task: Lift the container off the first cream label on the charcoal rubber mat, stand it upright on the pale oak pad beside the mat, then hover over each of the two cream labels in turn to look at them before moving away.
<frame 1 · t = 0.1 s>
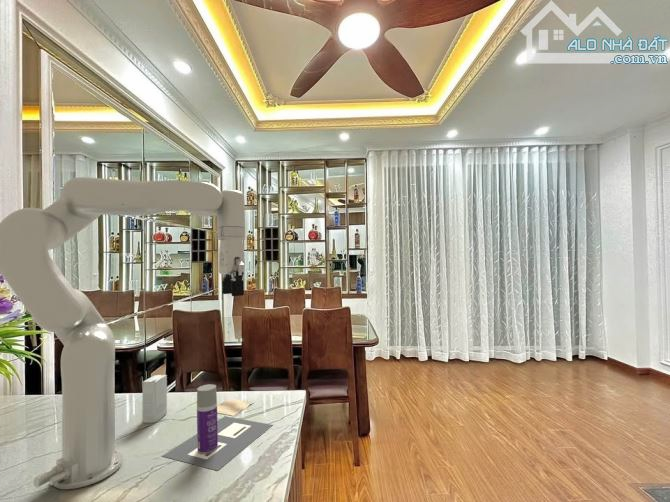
hand: (232, 294, 94), 37 cm above the countertop, tool pointing down, fingers open, 9 cm apart
oak pad: (231, 407, 106), on the countertop
container: (207, 449, 82), resting on label mat
label mat: (221, 439, 86), on the countertop
skincare box: (155, 419, 100), on the countertop
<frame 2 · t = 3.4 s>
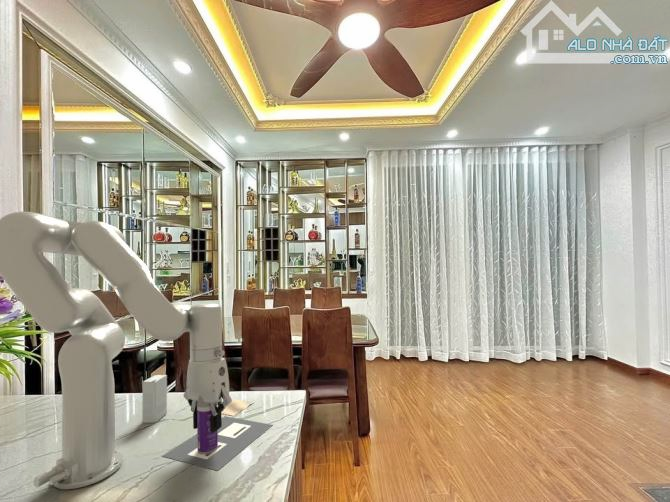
hand: (207, 427, 82), 5 cm above the countertop, tool pointing down, fingers closed on container, 4 cm apart
container: (207, 449, 82), resting on label mat, touching gripper
everything else where it was.
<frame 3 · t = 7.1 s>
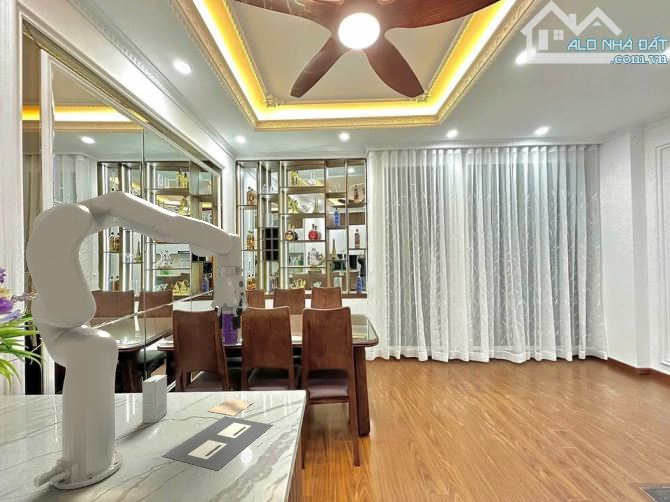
hand: (229, 327, 107), 25 cm above the countertop, tool pointing down, fingers closed on container, 4 cm apart
container: (230, 344, 107), point 20 cm above the countertop, touching gripper
everything else where it was.
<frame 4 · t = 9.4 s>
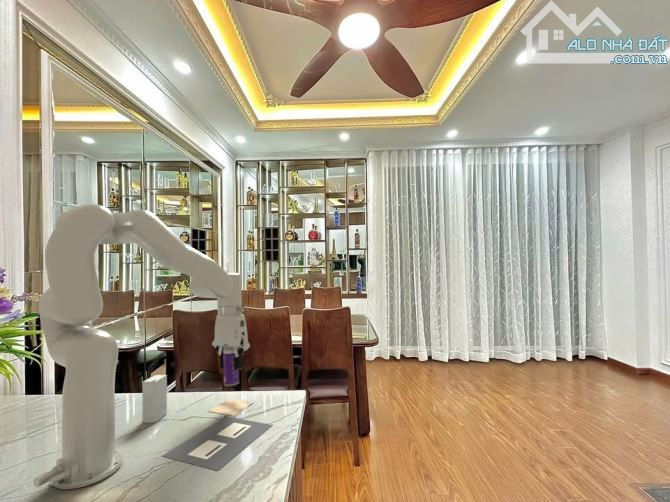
hand: (231, 367, 107), 13 cm above the countertop, tool pointing down, fingers closed on container, 4 cm apart
container: (231, 384, 107), point 7 cm above the countertop, touching gripper
everything else where it was.
when the fingers open (6 cm above the countertop, at t = 11.1 s): container drops 1 cm, resting on oak pad.
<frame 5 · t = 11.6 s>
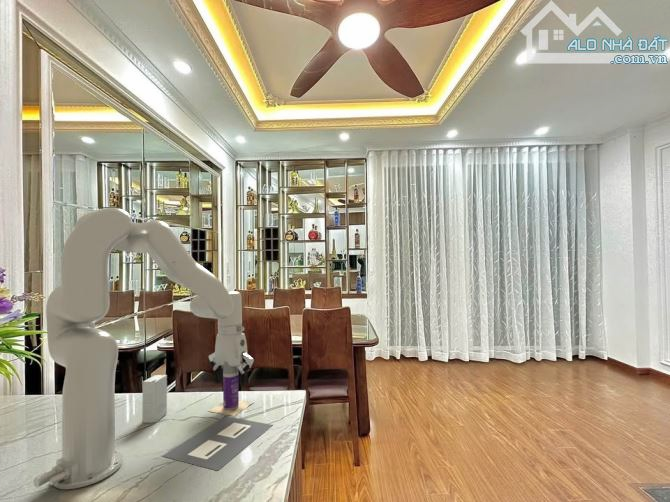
hand: (231, 383, 107), 7 cm above the countertop, tool pointing down, fingers open, 9 cm apart
container: (231, 407, 106), resting on oak pad
everything else where it was.
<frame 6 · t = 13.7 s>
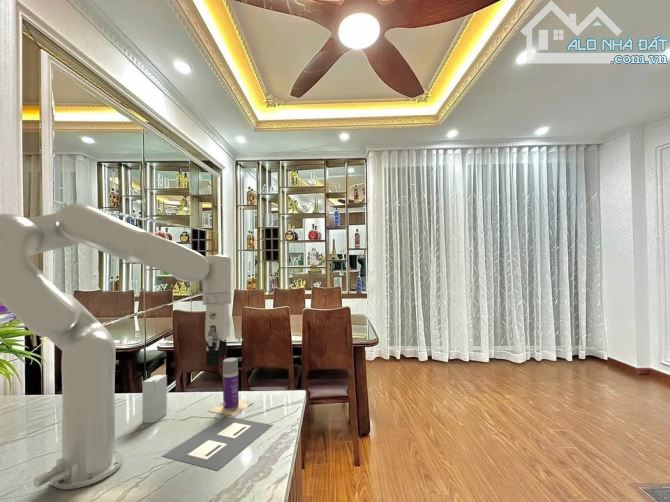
hand: (217, 360, 92), 19 cm above the countertop, tool pointing down, fingers open, 9 cm apart
nothing on the countertop moved.
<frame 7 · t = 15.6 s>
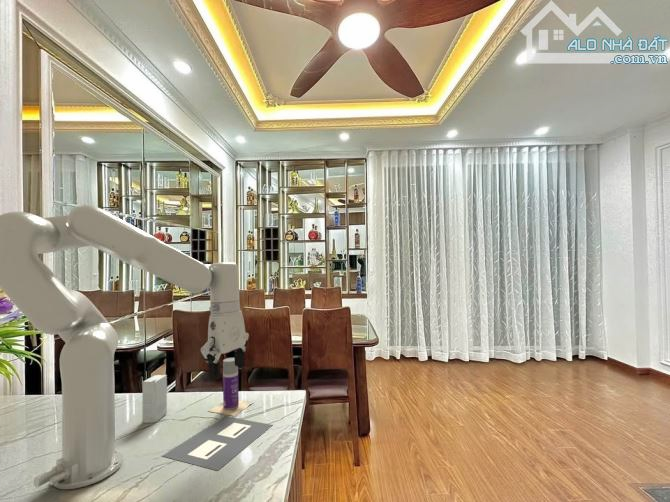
hand: (227, 371, 89), 17 cm above the countertop, tool pointing down, fingers open, 9 cm apart
nothing on the countertop moved.
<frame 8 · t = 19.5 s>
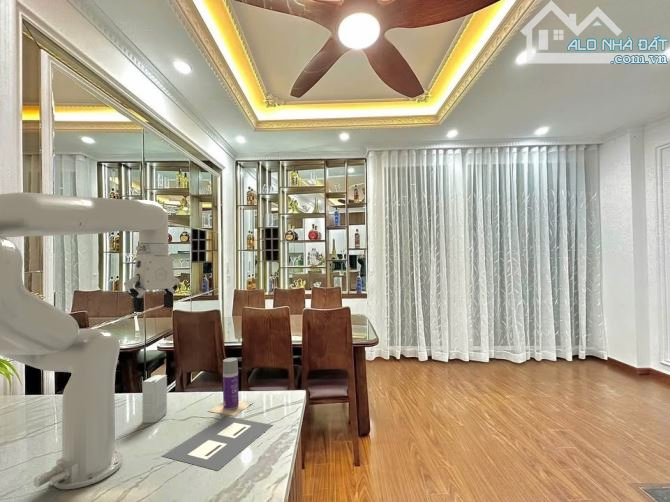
hand: (154, 309, 96), 33 cm above the countertop, tool pointing down, fingers open, 9 cm apart
nothing on the countertop moved.
at the end: container inside the target area (0.2 cm from its centre), resting on oak pad; container tilted 0°; the gripper is holding nothing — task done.
